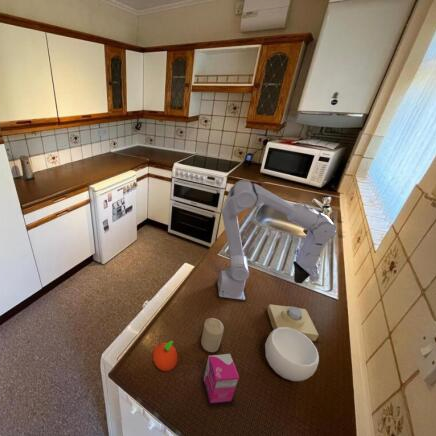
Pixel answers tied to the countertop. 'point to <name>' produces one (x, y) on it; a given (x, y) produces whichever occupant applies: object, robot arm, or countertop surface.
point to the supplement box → (220, 378)
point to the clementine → (165, 356)
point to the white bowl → (291, 354)
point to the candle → (212, 334)
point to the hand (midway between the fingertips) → (297, 281)
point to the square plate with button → (292, 321)
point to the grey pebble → (294, 313)
